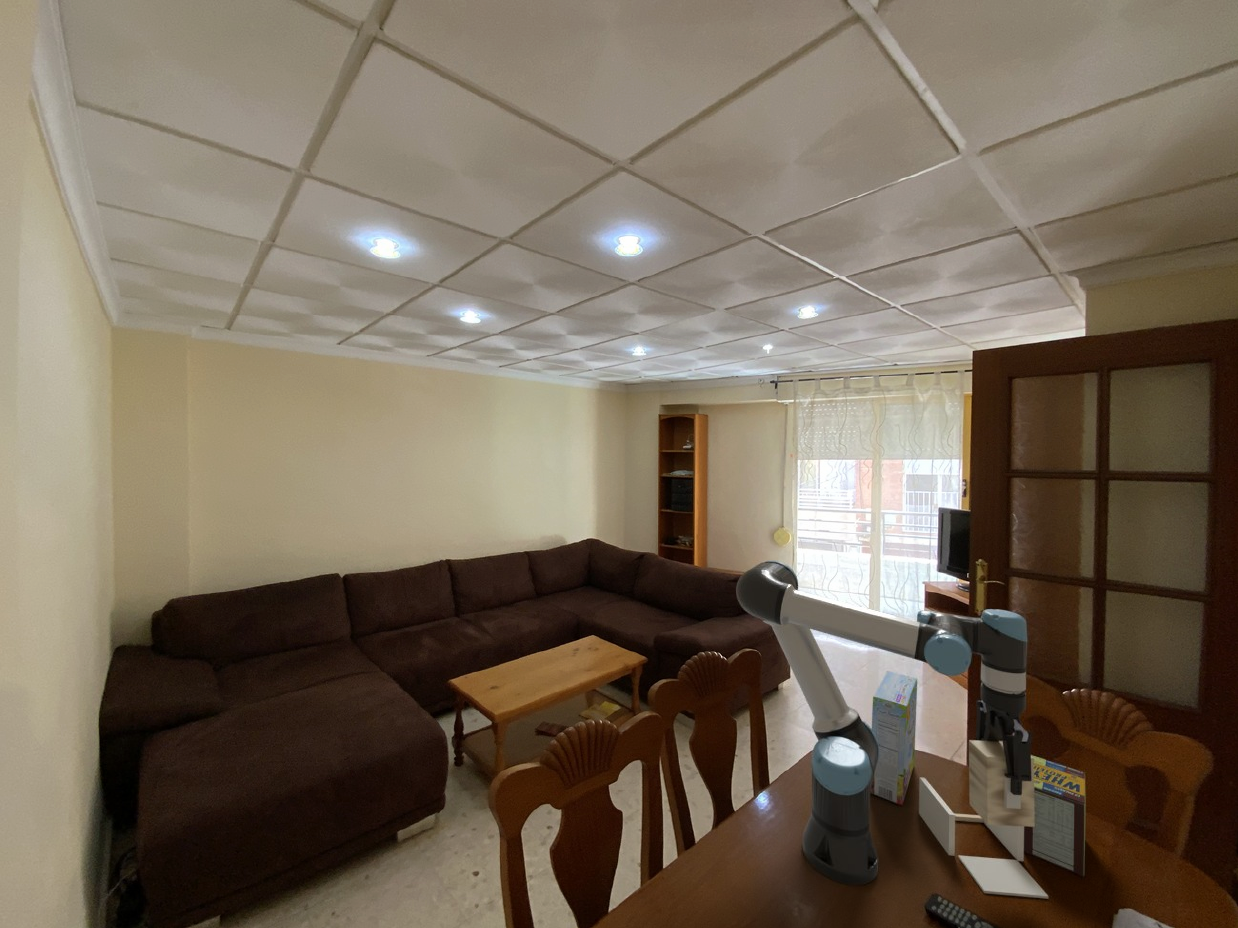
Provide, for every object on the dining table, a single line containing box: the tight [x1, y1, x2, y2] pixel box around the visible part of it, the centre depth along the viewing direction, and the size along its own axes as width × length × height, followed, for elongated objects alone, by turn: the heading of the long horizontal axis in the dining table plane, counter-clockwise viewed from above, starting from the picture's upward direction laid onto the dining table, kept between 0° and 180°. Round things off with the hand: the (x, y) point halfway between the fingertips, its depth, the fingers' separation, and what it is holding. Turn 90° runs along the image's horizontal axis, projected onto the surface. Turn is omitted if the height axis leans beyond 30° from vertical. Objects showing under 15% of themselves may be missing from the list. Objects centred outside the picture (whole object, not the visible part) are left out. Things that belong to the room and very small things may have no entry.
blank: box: [968, 739, 1035, 827], centre depth 104 cm, size 9×6×14 cm, turn 85°
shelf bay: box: [918, 777, 1025, 862], centre depth 116 cm, size 15×13×9 cm
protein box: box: [1024, 754, 1087, 877], centre depth 113 cm, size 10×15×16 cm
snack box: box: [870, 670, 918, 806], centre depth 136 cm, size 22×9×26 cm, turn 143°
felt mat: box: [957, 854, 1049, 900], centre depth 104 cm, size 12×9×1 cm
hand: (1001, 795), depth 104 cm, fingers closed on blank, 6 cm apart
